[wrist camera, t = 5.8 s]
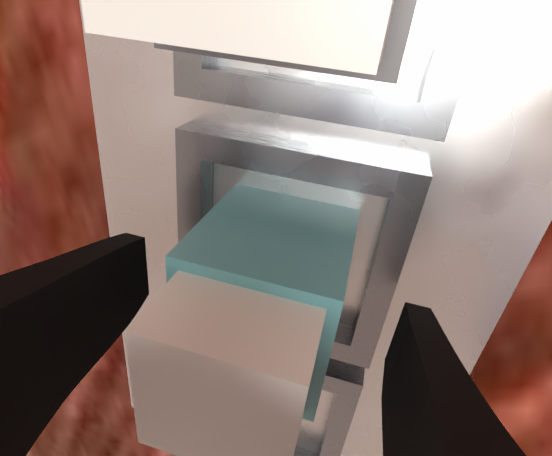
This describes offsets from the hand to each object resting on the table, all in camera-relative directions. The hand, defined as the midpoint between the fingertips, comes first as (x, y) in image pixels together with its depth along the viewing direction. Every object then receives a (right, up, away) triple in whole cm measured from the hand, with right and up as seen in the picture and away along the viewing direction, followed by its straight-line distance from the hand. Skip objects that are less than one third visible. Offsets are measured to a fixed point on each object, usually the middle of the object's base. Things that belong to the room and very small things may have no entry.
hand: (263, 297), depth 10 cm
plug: (+1, +1, +3) cm, 3 cm away
